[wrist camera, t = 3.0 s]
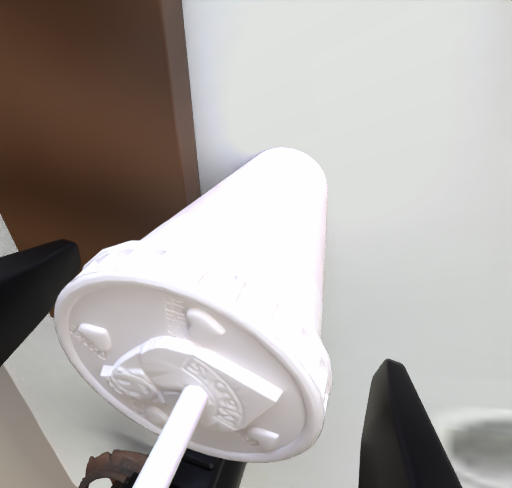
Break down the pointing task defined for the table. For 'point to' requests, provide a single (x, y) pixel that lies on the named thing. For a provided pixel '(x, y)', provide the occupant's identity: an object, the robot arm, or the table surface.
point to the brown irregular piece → (113, 467)
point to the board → (94, 121)
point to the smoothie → (213, 320)
